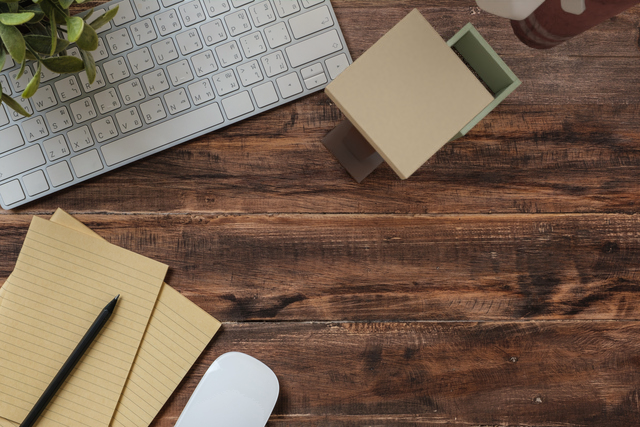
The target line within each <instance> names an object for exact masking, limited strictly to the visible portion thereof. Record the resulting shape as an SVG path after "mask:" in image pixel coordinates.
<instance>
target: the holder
mask: <svg viewBox="0 0 640 427" xmlns="http://www.w3.org/2000/svg"><path fill="white" fill-rule="evenodd" d="M445 42H446V43H447V44H448V46H449V47H450V48H451V49H452V48H453V47H454V49H455V50H456V51H457V52H458V53H459V54H460V56H461V57H462V58H463V59H464V60H465V61H466V62H467V63H468V65H469V66H470V67H471V68H472V69H473V70H474V72H475V73H476V74H477V75H478V76H479V77H480V78H481V80H482V81H483V82H484V83H485V84H486V86H487V87H488V88H489V89H490V90H491V91H492V92H493V94H491V95H492V97H493V98H494V100H493V101H492V102H491V103H490V104H489V105H488V106H486V107H485V108H484V109H483V110H482V111H481V112H480V113H479V114H478V115H477V116H475V117H474V118H473V119H472V120H471V121H470V122H469V123H468V124H467V125H466V126H464V127H463V128H462V129H461V130H460V131H459V132H458V133H457V134H456V135H454V136H453V137H452V138H451V139H450V140H449V141H448V142H447V143H451V142H453V141H456V140H457V139H459V138H460V139H461V138H462V137H464V136H465V135H466V134H467V133H469V132H470V131H471V130H472V129H473V128H475V126H476V125H478V123H479V122H481V121H482V120H483V119H484V118H485V117H486V116H487V115H489V114H490V113H491V112H492V111H493V110H494V109H495V108H496V107H497V106H498V105H499V104H501V103H502V102H503V101H504V100H505V99H506V98H507V97H508V96H509V95H511V93H513V92H514V91H515V90H516V89H517V88H518V87H520V85H522V83H523V82H522V81H521V80H520V79H519V78H518V76H517V75H516V74H515V73H514V72H513V70H512V69H511V68H510V67H509V66H508V65H507V64H506V63H505V61H504V60H503V59H502V58H501V57H500V56H499V54H498V53H497V52H496V51H495V49H494V48H493V47H492V46H491V45H490V44H489V43H488V42H487V40H486V39H485V38H484V36H482V35H481V33H480V32H479V31H478V30H477V29H476V27H474V25H473V24H472V23H471V22H470V21H468V22H467V23H466V24H465V25H464V26H462V28H460V29H459V30H458V31H457V32H456V33H455V34H453V36H452V37H450V38H449V39H448V40H447V41H445Z"/></svg>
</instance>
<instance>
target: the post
mask: <svg viewBox="0 0 640 427" xmlns="http://www.w3.org/2000/svg"><path fill="white" fill-rule="evenodd" d="M319 142H320V144H321V145H322V146H324V148H325V149H326V150H327V151H328V152H329V153H330V154H331V156H332V157H333V158H334V159H335V160H336V161H337V163H338V164H340V166H341V167H342V168H343V169H344V170H345V171H346V173H347V174H348V175H349V176H350V177H351V178H352V179H353V180H354V181H355V183H356V184H357V185H358V184H361V182H363V180H365V179H366V178H367V177H368V176H369V175H370V174H371V173H372V172H374V170H376V169H377V168H378V167H379V166H381V165H382V163H383V162H384V161H385V160H384V159H383V158H382V156H381V155H380V154H379V153H378V152H377V151H376V150H375V149H374V147H373V146H372V145H371V144H370V143H369V142H368V141H367V139H366V138H365V137H364V136H363V135H362V134H361V133H360V132H359V130H358V129H357V128H356V127H355V126H354V125H353V124H352V123H351V121H350V120H349V119H348V118H347V117H346V116H345V118H344V119H342V121H340V122H339V123H338V124H337V125H336V126H335V127H334V128H332V129H331V130H330V131H329V132H328V133H326V134H325V136H323V137H322V138H321V139H320V141H319Z"/></svg>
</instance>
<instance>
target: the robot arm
mask: <svg viewBox="0 0 640 427" xmlns="http://www.w3.org/2000/svg"><path fill="white" fill-rule="evenodd" d="M544 1H545V0H475V4H476V5H477V7H478V8H479V9H480V10H482V11H484V12H486V13H489V14H492V15H493V16H498V17H500V18H504V19H508V20H510V19H513V20H523V19H525V18H526V17H528V16H529V15H530V14H531V13H532V12H533V11H534V10H535V9H536V8H538V7H539V6H540V5H541V4H542V3H543V2H544ZM561 7H562V9H563V10H564V11H566V12H569V13H573V14H577V15H579V14H581V13H582V12H583V11H584V10H585V9H586V7H585V3H584V0H561Z"/></svg>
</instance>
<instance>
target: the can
mask: <svg viewBox="0 0 640 427" xmlns="http://www.w3.org/2000/svg"><path fill="white" fill-rule="evenodd" d="M584 3H585V7H586V9H585V10H584V11H583V12H582V13H581V14H579V15H577V14H573V13H569V12H566V11H564V10H563V9H562V7H561V0H545V1H544V2H543V3H542V4H541V5H540V6H539V7H538V8H536V9H535V10H534V11H533V12H532V13H531V14H530V15H529V16H528V17H526V18H525V19H523V20H513V19H509V22H510V26H511V29H512V31H513V34H514V35H515V37H516V38H517V39H518V41H519V42H521V43H522V44H523V45H525V46H526V47H528V48H530V49H535V50H538V51H543V50H550V49H552V48H555V47H557V46H560V45H561V44H564V43H565V42H567V41H569V40H571V39H573V38H574V37H576V36H579V35H581V34H582V33H584V32H587V31H588V30H591V29H592V28H595V27H597V26H598V25H600V24H602V23H604V22H606V21H608V20H610V19H612V18H614V17H615V16H617V15H619V14H621V13H623V12H625V11H628V10H630V9H631V8H633V7H635V6H637V5H639V4H640V0H584Z"/></svg>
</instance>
